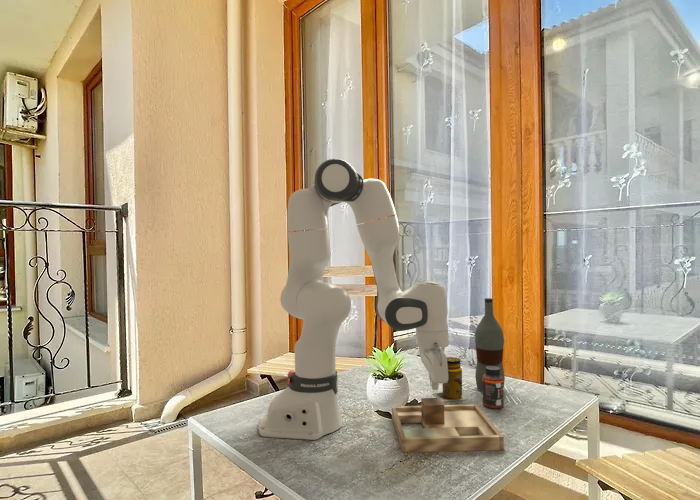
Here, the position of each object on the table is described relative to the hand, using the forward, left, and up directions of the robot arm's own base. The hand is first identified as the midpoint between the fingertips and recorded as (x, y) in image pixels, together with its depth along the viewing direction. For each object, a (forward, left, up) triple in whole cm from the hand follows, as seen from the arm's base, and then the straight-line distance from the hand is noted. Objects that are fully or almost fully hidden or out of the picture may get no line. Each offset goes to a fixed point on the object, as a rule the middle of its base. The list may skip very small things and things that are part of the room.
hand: (434, 388), depth 116 cm
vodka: (+23, +22, -9) cm, 33 cm away
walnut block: (-2, -6, -6) cm, 9 cm away
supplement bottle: (+19, +8, -9) cm, 23 cm away
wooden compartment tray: (0, -9, -8) cm, 12 cm away
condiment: (+8, +16, -9) cm, 20 cm away
